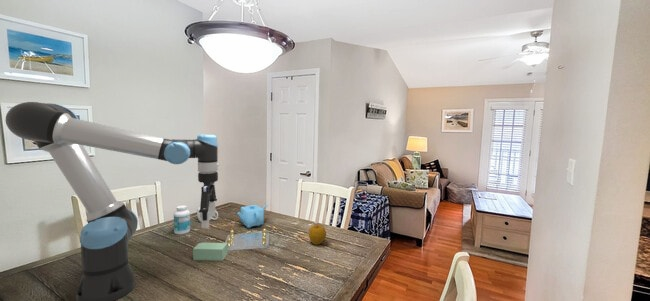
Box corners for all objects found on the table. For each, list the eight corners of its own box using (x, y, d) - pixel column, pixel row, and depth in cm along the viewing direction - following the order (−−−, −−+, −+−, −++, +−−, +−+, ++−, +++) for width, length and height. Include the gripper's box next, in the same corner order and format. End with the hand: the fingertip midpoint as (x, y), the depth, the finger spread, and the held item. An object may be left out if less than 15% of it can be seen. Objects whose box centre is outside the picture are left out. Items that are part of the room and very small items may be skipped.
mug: (194, 222, 151) (193, 209, 151) (201, 217, 160) (201, 204, 159) (214, 223, 151) (214, 210, 150) (221, 218, 159) (221, 205, 158)
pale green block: (227, 254, 117) (227, 243, 116) (222, 261, 111) (222, 249, 110) (199, 253, 116) (199, 242, 116) (193, 260, 110) (193, 248, 110)
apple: (329, 244, 129) (330, 226, 128) (315, 248, 124) (315, 230, 123) (318, 238, 135) (319, 221, 135) (305, 242, 130) (305, 224, 129)
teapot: (232, 223, 151) (232, 204, 150) (262, 217, 162) (262, 199, 161) (242, 233, 139) (242, 212, 138) (274, 226, 150) (274, 206, 149)
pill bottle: (173, 231, 139) (172, 205, 138) (189, 228, 143) (188, 203, 142) (174, 236, 133) (174, 209, 132) (191, 233, 137) (190, 207, 136)
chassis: (269, 235, 137) (269, 227, 136) (268, 247, 123) (268, 238, 123) (228, 237, 133) (228, 228, 132) (222, 250, 119) (222, 240, 119)
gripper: (212, 177, 99) (212, 232, 101) (222, 167, 124) (222, 211, 126) (190, 178, 98) (191, 233, 100) (204, 167, 122) (205, 212, 124)
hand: (208, 221), depth 113 cm, fingers open, 13 cm apart
